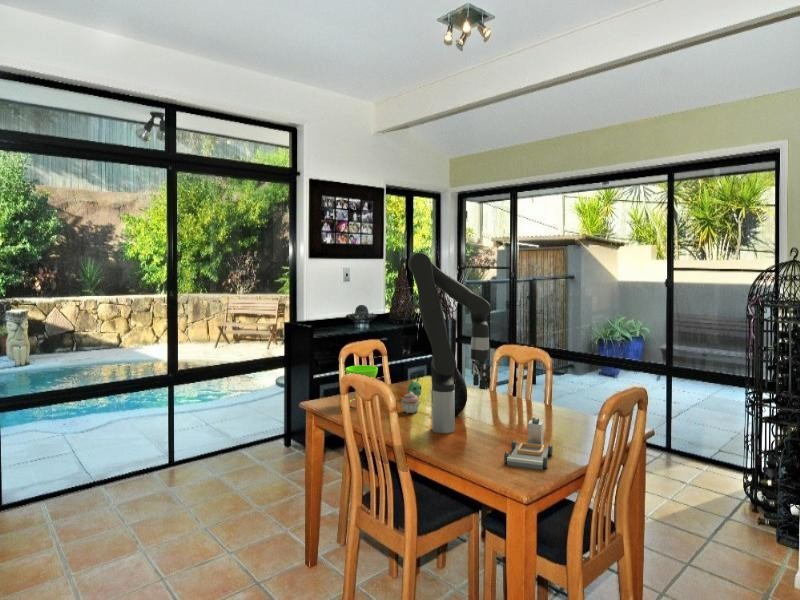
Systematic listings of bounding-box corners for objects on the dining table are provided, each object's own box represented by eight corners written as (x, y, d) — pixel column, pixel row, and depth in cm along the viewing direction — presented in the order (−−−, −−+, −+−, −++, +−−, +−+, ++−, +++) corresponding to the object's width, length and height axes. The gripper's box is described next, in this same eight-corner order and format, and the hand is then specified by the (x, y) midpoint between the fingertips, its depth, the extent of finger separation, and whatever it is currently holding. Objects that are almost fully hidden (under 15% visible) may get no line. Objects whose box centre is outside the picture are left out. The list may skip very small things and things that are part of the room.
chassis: (546, 470, 186) (546, 459, 186) (503, 464, 192) (503, 454, 192) (552, 453, 203) (552, 443, 203) (513, 448, 208) (513, 438, 208)
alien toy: (414, 400, 280) (414, 381, 280) (405, 397, 286) (404, 378, 286) (424, 398, 284) (424, 379, 284) (415, 395, 291) (415, 377, 290)
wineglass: (374, 409, 265) (374, 372, 264) (342, 407, 268) (341, 371, 266) (381, 400, 281) (380, 365, 280) (350, 399, 283) (350, 364, 282)
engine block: (541, 448, 209) (541, 420, 208) (527, 446, 210) (528, 419, 210) (543, 444, 213) (543, 417, 212) (529, 442, 215) (530, 416, 214)
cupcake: (405, 408, 266) (405, 388, 265) (423, 410, 261) (423, 390, 261) (397, 413, 257) (396, 392, 257) (415, 415, 253) (415, 394, 252)
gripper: (466, 346, 235) (465, 384, 235) (476, 349, 221) (475, 390, 221) (483, 346, 236) (482, 384, 236) (494, 349, 222) (493, 390, 222)
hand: (479, 387), depth 229 cm, fingers open, 8 cm apart
